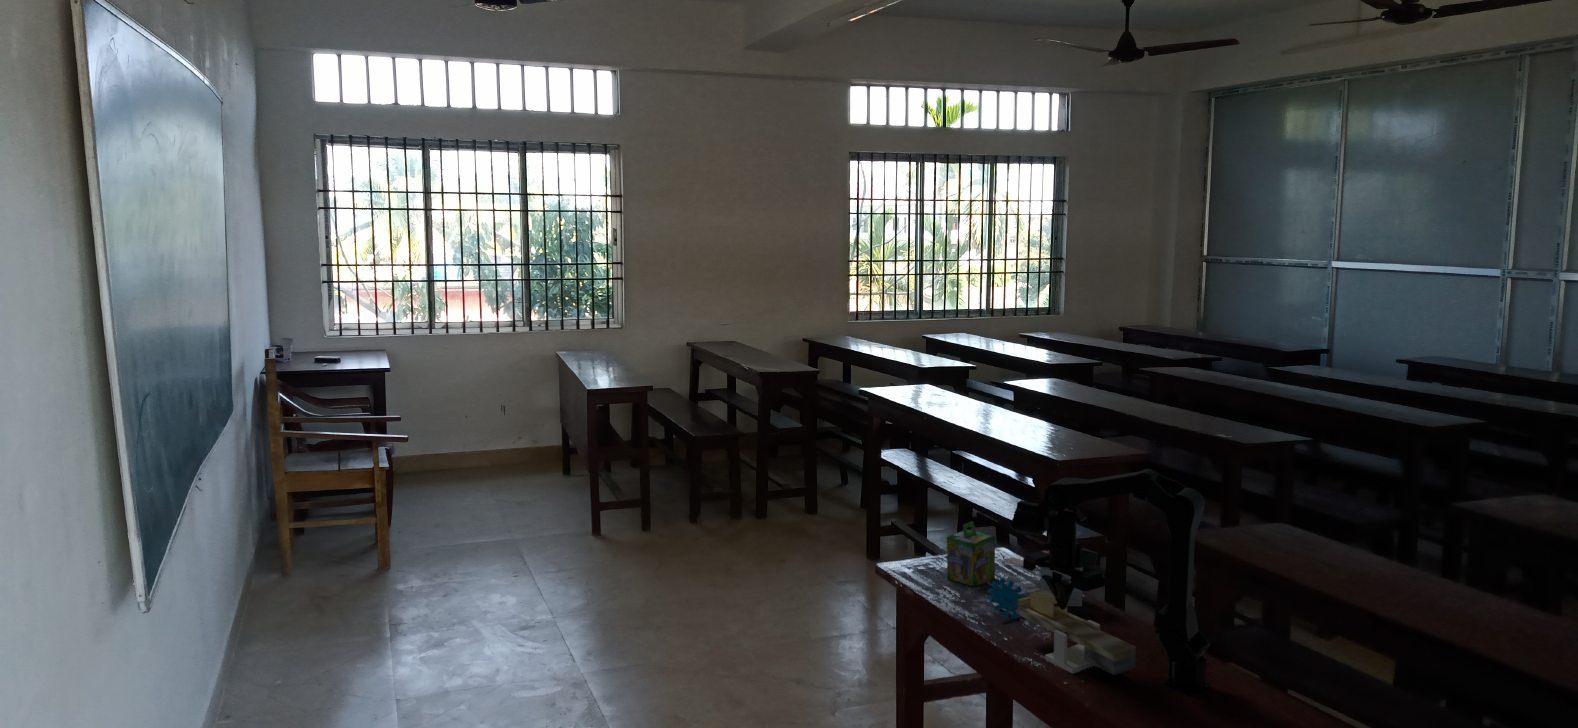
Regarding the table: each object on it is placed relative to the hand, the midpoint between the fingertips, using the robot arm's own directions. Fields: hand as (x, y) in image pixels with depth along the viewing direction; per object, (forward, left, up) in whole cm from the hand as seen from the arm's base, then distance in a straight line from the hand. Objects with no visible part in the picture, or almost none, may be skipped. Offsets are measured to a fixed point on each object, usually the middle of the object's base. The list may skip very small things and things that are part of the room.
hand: (1063, 608), depth 219 cm
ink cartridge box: (+21, -20, -10) cm, 31 cm away
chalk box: (+45, -12, -10) cm, 48 cm away
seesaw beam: (-3, 0, -7) cm, 8 cm away
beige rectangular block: (+4, 0, -3) cm, 5 cm away
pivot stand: (-4, 0, -10) cm, 11 cm away
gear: (+22, -5, -10) cm, 25 cm away
